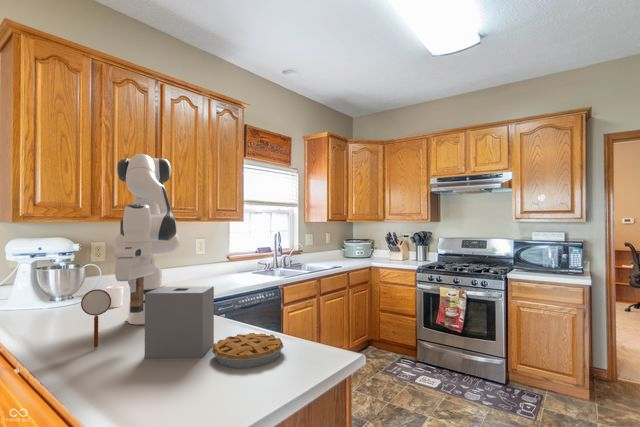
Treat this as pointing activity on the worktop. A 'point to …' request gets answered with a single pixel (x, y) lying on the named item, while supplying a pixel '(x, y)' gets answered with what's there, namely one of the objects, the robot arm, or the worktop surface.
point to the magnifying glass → (96, 307)
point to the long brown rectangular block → (137, 297)
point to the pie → (247, 350)
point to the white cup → (115, 295)
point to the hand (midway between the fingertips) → (137, 290)
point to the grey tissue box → (179, 322)
